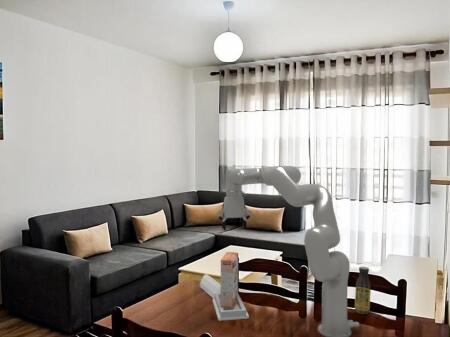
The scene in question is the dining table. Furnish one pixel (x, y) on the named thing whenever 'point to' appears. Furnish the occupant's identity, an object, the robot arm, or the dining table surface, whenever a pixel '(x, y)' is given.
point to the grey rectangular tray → (230, 310)
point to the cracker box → (229, 279)
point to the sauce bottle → (362, 292)
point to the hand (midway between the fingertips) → (234, 229)
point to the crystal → (210, 286)
